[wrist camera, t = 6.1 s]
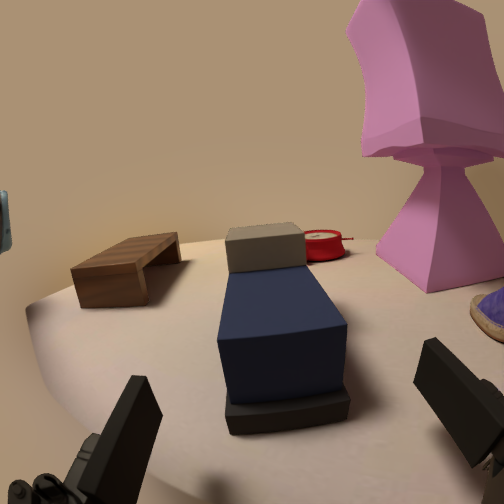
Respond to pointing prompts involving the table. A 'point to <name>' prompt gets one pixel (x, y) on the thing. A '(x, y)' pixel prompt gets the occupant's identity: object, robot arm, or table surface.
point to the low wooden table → (123, 271)
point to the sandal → (489, 313)
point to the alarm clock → (323, 244)
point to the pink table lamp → (433, 133)
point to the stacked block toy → (279, 335)
